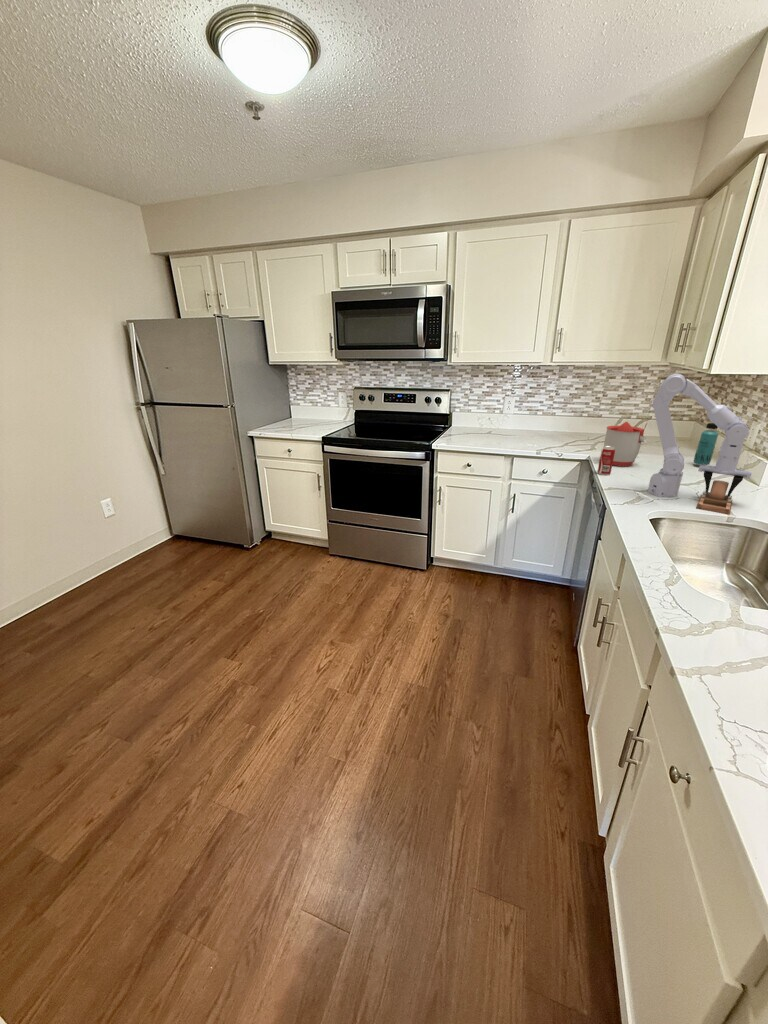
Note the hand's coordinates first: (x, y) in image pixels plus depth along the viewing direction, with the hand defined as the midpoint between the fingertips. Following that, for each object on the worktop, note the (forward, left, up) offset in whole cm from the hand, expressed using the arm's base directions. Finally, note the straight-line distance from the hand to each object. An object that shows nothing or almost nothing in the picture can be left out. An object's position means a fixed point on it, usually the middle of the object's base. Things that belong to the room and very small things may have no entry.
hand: (717, 493), depth 150 cm
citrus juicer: (+2, +54, -4) cm, 54 cm away
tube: (0, 0, -3) cm, 3 cm away
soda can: (-16, +40, -4) cm, 43 cm away
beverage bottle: (+36, +44, -4) cm, 57 cm away
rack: (-3, -3, -3) cm, 6 cm away
